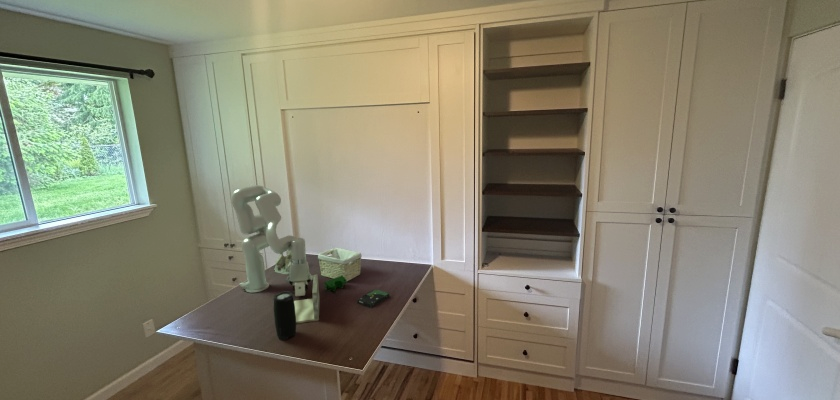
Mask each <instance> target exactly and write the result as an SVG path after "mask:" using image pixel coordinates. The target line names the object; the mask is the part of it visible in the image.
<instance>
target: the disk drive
mask: <svg viewBox="0 0 840 400" xmlns="http://www.w3.org/2000/svg"><path fill="white" fill-rule="evenodd" d="M390 297H391V296H390V293H389V292H386V291H384V290H379V289H378V288H376V289H374V290H372V291H370V292H367V293H366V294H364V295H362V296H361V297H359V298H357V304H360V305H363V306H364V307H367V308H369V309H373V308H374V307H376V306H377V305H379V304H380V303H381V304H382V302H384V301H385V300H387V299H389V298H390Z"/></svg>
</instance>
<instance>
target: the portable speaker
mask: <svg viewBox="0 0 840 400" xmlns="http://www.w3.org/2000/svg"><path fill="white" fill-rule="evenodd" d="M272 299H273V317H274V326H275V331H276V336H277V339H278V340H280V341H287V340H288V339H290V338H291V337H295V336H296V334H297V324H296V314H295V305H294V301H295V300H294V296H293V293H292V292H291V291H289V290H285V291H284V290H283V291H281V292H279V293H277V294H275V295H273V298H272Z"/></svg>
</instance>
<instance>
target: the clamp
mask: <svg viewBox="0 0 840 400" xmlns="http://www.w3.org/2000/svg"><path fill="white" fill-rule="evenodd" d="M347 282H348V281H347V280H346V279H345V278H344V277H343V276H340V277H337V278H334V279H333V278H330V279H329V280H326V281H324V289H325V290H326V291H327V292H328V291H330V290H332V291H333V292H334V293H335V292H336V289H337V288H340V289H341V290H343V289H344V285H346V284H347Z"/></svg>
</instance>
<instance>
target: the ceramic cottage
mask: <svg viewBox="0 0 840 400" xmlns="http://www.w3.org/2000/svg"><path fill="white" fill-rule="evenodd" d="M285 253H286V255H285V256H284V252H283V253H281V254H279V256H278V257H277V259H276V260H275V261H274V262H275V267H274V269H273V270H275V271H274V272H275V273H278V274H282V275H290V264H291V262H290V261H289V259H291V249H290V250H287V251H285Z"/></svg>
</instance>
